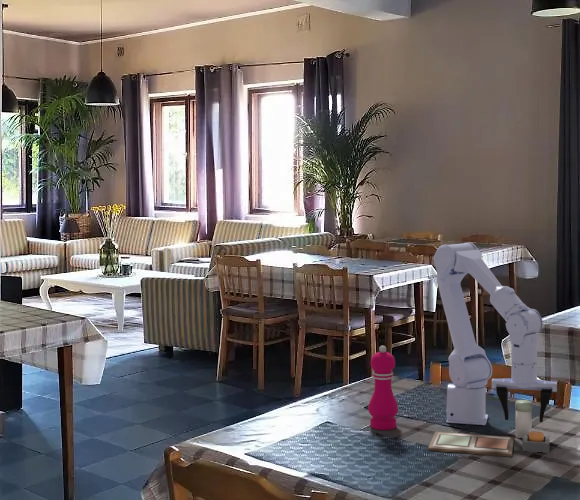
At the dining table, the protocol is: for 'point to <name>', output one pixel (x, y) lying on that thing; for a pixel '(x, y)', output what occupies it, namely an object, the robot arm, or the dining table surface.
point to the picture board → (472, 444)
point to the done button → (536, 436)
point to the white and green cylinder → (523, 418)
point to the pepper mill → (383, 392)
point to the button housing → (535, 444)
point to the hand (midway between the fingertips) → (523, 419)
